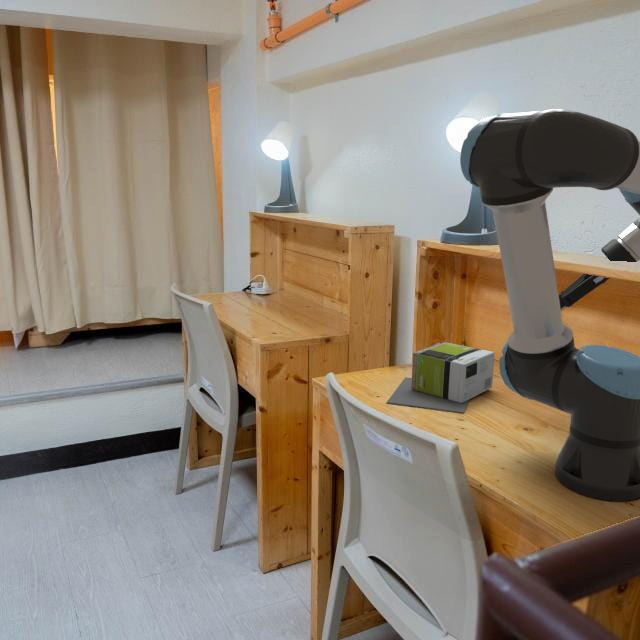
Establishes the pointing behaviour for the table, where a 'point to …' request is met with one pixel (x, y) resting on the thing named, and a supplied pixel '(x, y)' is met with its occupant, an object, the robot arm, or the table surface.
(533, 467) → the table surface
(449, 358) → the tea box
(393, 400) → the desk pad
